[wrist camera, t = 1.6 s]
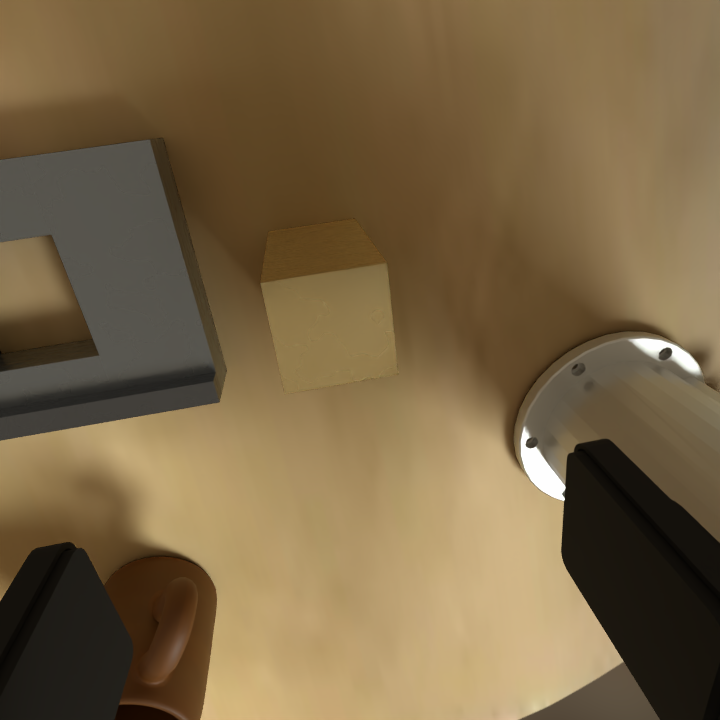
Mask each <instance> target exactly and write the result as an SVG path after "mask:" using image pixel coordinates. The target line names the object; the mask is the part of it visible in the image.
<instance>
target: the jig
mask: <svg viewBox="0 0 720 720" xmlns="http://www.w3.org/2000/svg"><path fill="white" fill-rule="evenodd" d="M45 235H52V237H53V240H54V242H55V245H56V247H57V250H58V253H59V255H60V258H61V260H62V263H63V265H64V268H65V270H66V273H67V275H68V278H69V280H70V283H71V285H72V288H73V290H74V293H75V295H76V298H77V300H78V303H79V305H80V308H81V310H82V313H83V315H84V318H85V320H86V323H87V325H88V328H89V330H90V333H91V335H92V338H93V339H91V340H85V341H78V342H72V343H66V344H60V345H54V346H48V347H42V348H35V349H29V350H23V351H17V352H11V353H5V354H1V352H0V440H6V439H12V438H17V437H23V436H29V435H35V434H40V433H46V432H52V431H58V430H63V429H69V428H75V427H80V426H86V425H92V424H98V423H103V422H109V421H115V420H121V419H126V418H132V417H138V416H144V415H149V414H155V413H161V412H166V411H172V410H178V409H184V408H189V407H195V406H201V405H207V404H212V403H218V402H220V398H221V394H222V389H223V385H224V381H225V377H226V372H227V370H226V366H225V362H224V359H223V355H222V351H221V348H220V344H219V340H218V337H217V333H216V329H215V326H214V322H213V318H212V315H211V311H210V308H209V304H208V300H207V297H206V293H205V289H204V286H203V282H202V278H201V275H200V271H199V267H198V264H197V260H196V257H195V253H194V249H193V246H192V242H191V238H190V235H189V231H188V227H187V224H186V220H185V216H184V213H183V209H182V205H181V202H180V198H179V195H178V191H177V187H176V184H175V180H174V176H173V173H172V169H171V165H170V162H169V158H168V154H167V151H166V147H165V143H164V140H163V138H158V139H150V140H143V141H135V142H128V143H121V144H113V145H106V146H99V147H92V148H84V149H77V150H70V151H62V152H55V153H48V154H40V155H33V156H26V157H18V158H11V159H4V160H0V242H5V241H12V240H18V239H25V238H32V237H39V236H45Z"/></svg>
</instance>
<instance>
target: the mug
mask: <svg viewBox="0 0 720 720" xmlns="http://www.w3.org/2000/svg"><path fill="white" fill-rule="evenodd" d="M104 588H105V589H106V591H107V593H108V595H109V597H110V599H111V601H112V603H113V605H114V607H115V609H116V610H117V612H118V614H119V616H120V618H121V620H122V622H123V624H124V626H125V628H126V630H127V631H128V633H129V635H130V637H131V640H132V643H133V658H132V662H131V666H130V669H129V672H128V676H127V679H126V682H125V686H124V689H123V693H122V696H121V699H120V703H119V706H118V709H117V713H116V716H115V719H114V720H200V718H201V714H202V710H203V704H204V698H205V691H206V684H207V676H208V669H209V662H210V655H211V647H212V639H213V630H214V623H215V616H216V606H217V595H216V589H215V586H214V584H213V582H212V580H211V579H210V577H209V576H208V575H207V573H206V572H204V571H203V570H202V569H201V568H199V567H198V566H196V565H195V564H193V563H190V562H188V561H185V560H182V559H179V558H173V557H148V558H143V559H139V560H136V561H133V562H131V563H129V564H127V565H125V566H123V567H122V568H121V569H119V570H118V571H116V572H115V573H114V574H113V575H112V576H111V577H110V578H109V580H108V581H107V583H106V584H105V586H104Z"/></svg>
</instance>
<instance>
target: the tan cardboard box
mask: <svg viewBox="0 0 720 720" xmlns="http://www.w3.org/2000/svg"><path fill="white" fill-rule="evenodd" d="M260 285H261V289H262V294H263V298H264V303H265V307H266V312H267V316H268V321H269V325H270V330H271V334H272V339H273V344H274V348H275V353H276V357H277V362H278V366H279V371H280V375H281V380H282V384H283V389H284V393H285V394H289V393H295V392H301V391H307V390H312V389H318V388H324V387H330V386H335V385H341V384H347V383H353V382H358V381H364V380H370V379H375V378H381V377H387V376H393V375H398V366H397V356H396V346H395V336H394V326H393V316H392V306H391V296H390V286H389V276H388V266H387V262H386V261H385V259H384V258H383V256H382V255H381V254H380V252H379V251H378V250H377V248H376V247H375V246H374V244H373V243H372V241H371V240H370V239H369V237H368V236H367V235H366V233H365V232H364V231H363V229H362V228H361V226H360V225H359V224H358V222H357V221H356V220H355V218H353V219H347V220H340V221H333V222H327V223H320V224H314V225H307V226H300V227H294V228H287V229H281V230H274V231H268V236H267V243H266V249H265V255H264V262H263V268H262V275H261V281H260Z"/></svg>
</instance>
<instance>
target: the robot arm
mask: <svg viewBox="0 0 720 720" xmlns="http://www.w3.org/2000/svg"><path fill="white" fill-rule="evenodd" d="M514 446H515V453H516V457H517V459H518V461H519V464H520V466H521V468H522V469H523V471H524V472H525V474H526V475H527V477H528V478H529V480H530V481H531V482H532V483H533V484H534V485H535V486H536V487H537V488H538V489H539V490H540V491H542V492H544V493H545V494H547V495H549V496H551V497H553V498H556V499H558V500H561V501H564V514H563V530H562V547H561V553H562V558H563V562H564V564H565V567H566V569H567V571H568V572H569V574H570V576H571V577H572V579H573V580H574V582H575V584H576V585H577V587H578V589H579V590H580V592H581V593H582V595H583V597H584V598H585V600H586V601H587V603H588V605H589V606H590V608H591V609H592V611H593V613H594V614H595V616H596V617H597V619H598V621H599V622H600V624H601V625H602V627H603V629H604V630H605V632H606V633H607V635H608V637H609V638H610V640H611V642H612V643H613V645H614V646H615V648H616V650H617V651H618V653H619V654H620V656H621V658H622V659H623V661H624V662H625V664H626V666H627V667H628V669H629V670H630V672H631V674H632V675H633V676H634V678H635V680H636V682H637V683H638V685H639V686H640V688H641V689H642V691H643V693H644V694H645V696H646V698H647V699H648V701H649V702H650V704H651V706H652V707H653V709H654V711H655V712H656V714H657V715H658V717H659V718H660V720H720V393H719V392H717V391H715V390H714V389H712V388H711V387H709V386H707V385H706V384H705V380H704V375H703V373H702V371H701V369H700V366H699V364H698V362H697V361H696V360H695V359H694V358H693V357H692V355H691V354H690V353H689V352H688V351H686V350H685V349H683V348H682V347H680V346H679V345H677V344H676V343H674V342H672V341H670V340H668V339H666V338H664V337H662V336H660V335H656V334H652V333H647V332H631V331H625V332H619V333H614V334H608V335H604V336H601V337H599V338H596V339H593V340H590V341H587V342H586V343H584V344H582V345H580V346H578V347H576V348H574V349H572V350H571V351H569V352H568V353H566V354H565V355H564V356H562V357H561V358H560V359H558V360H557V361H556V362H554V363H553V364H552V365H551V366H550V367H549V368H548V369H547V370H546V371H545V372H544V373H543V374H542V375H541V376H540V377H539V378H538V380H537V381H536V382H535V384H534V385H533V386H532V388H531V389H530V391H529V392H528V393H527V395H526V397H525V399H524V401H523V403H522V405H521V407H520V409H519V413H518V416H517V420H516V423H515V430H514ZM132 658H133V643H132V640H131V637H130V635H129V633H128V631H127V630H126V628H125V626H124V624H123V622H122V620H121V618H120V616H119V614H118V612H117V610H116V609H115V607H114V605H113V603H112V601H111V599H110V597H109V595H108V593H107V591H106V589H105V588H104V586H103V584H102V582H101V580H100V578H99V576H98V574H97V572H96V570H95V569H94V567H93V565H92V563H91V561H90V559H89V557H88V555H87V553H86V552H85V550H84V549H82V548H76V547H75V545H74V544H72V543H71V542H66V543H61V544H55V545H50V546H45V547H40V548H36V549H34V550H33V551H32V552H31V553H30V554H29V555H28V557H27V559H26V560H25V562H24V564H23V565H22V567H21V569H20V570H19V572H18V573H17V575H16V577H15V578H14V580H13V582H12V583H11V585H10V587H9V588H8V590H7V591H6V593H5V595H4V596H3V598H2V600H1V601H0V720H114V719H115V716H116V713H117V709H118V706H119V703H120V699H121V696H122V693H123V689H124V686H125V682H126V679H127V676H128V672H129V669H130V666H131V662H132Z"/></svg>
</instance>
